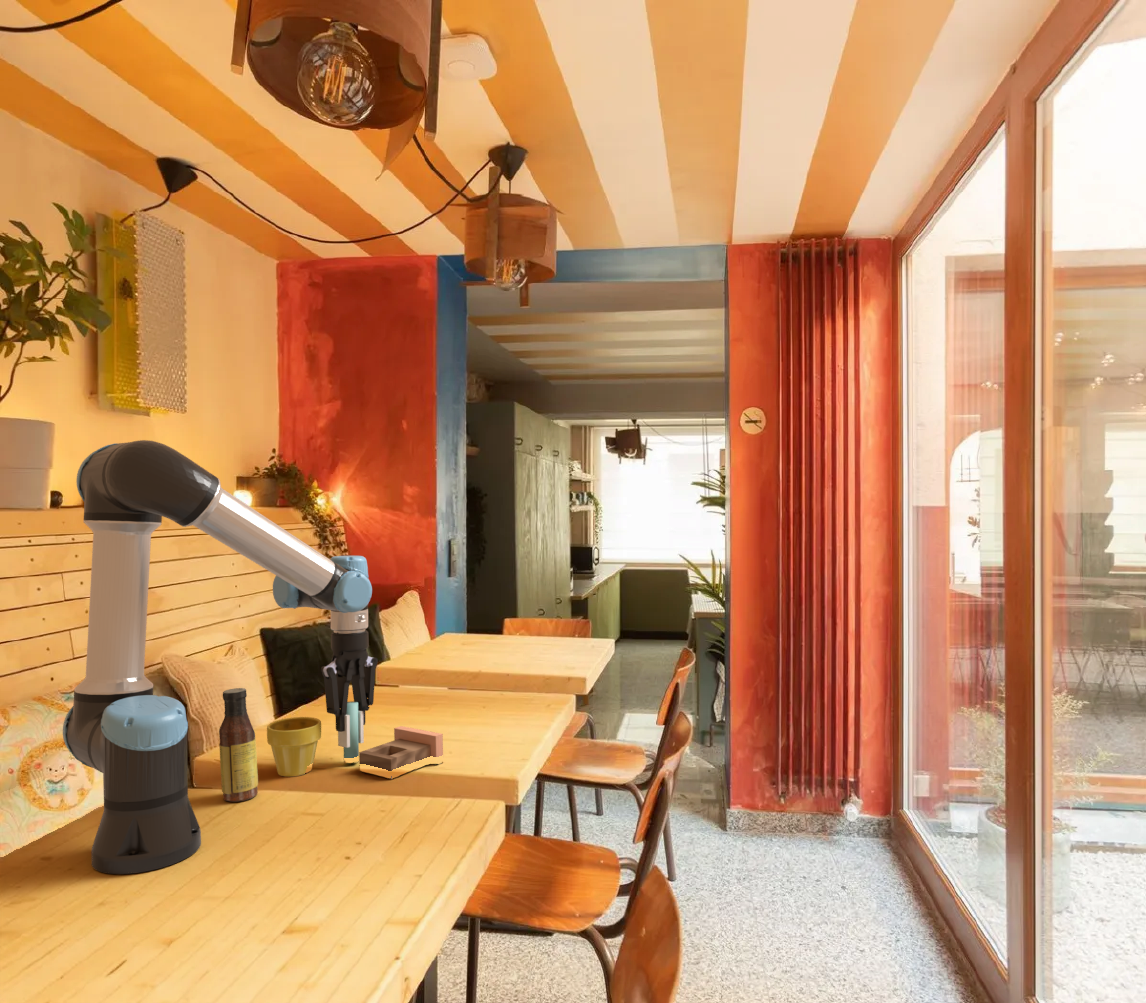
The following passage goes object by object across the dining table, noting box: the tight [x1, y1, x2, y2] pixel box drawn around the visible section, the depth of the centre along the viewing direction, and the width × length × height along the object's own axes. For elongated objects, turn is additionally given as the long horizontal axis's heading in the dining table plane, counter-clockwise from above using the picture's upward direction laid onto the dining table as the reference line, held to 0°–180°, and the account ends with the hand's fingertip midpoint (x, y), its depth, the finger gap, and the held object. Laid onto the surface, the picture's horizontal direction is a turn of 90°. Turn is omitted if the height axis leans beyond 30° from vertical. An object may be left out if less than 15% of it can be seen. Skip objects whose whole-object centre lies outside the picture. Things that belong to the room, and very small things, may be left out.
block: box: [358, 739, 431, 780], centre depth 169 cm, size 11×9×4 cm
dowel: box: [343, 700, 360, 759], centre depth 172 cm, size 3×3×12 cm
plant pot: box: [266, 716, 322, 778], centre depth 168 cm, size 10×10×10 cm
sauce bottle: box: [218, 687, 259, 803], centre depth 154 cm, size 6×6×20 cm
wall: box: [393, 725, 444, 757], centre depth 174 cm, size 2×12×6 cm, turn 56°
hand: (350, 744), depth 172 cm, fingers closed on dowel, 3 cm apart
